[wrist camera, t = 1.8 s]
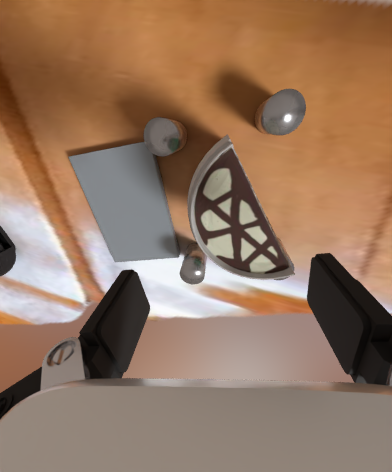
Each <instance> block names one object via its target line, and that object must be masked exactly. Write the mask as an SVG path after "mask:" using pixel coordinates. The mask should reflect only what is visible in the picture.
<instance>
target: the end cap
mask: <svg viewBox="0 0 392 472" xmlns="http://www.w3.org/2000/svg"><path fill="white" fill-rule="evenodd" d="M15 261H16V253H15V245H14V243H13V242H12V241H11V239H10V238H9V237H8V235H7V234H6V233H5V231H4V230H3V229H2V227H1V226H0V276H2V275H4V274H6V273H7V272H8V271H10V270H11V268H12V267H13V265H14V264H15Z"/></svg>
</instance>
